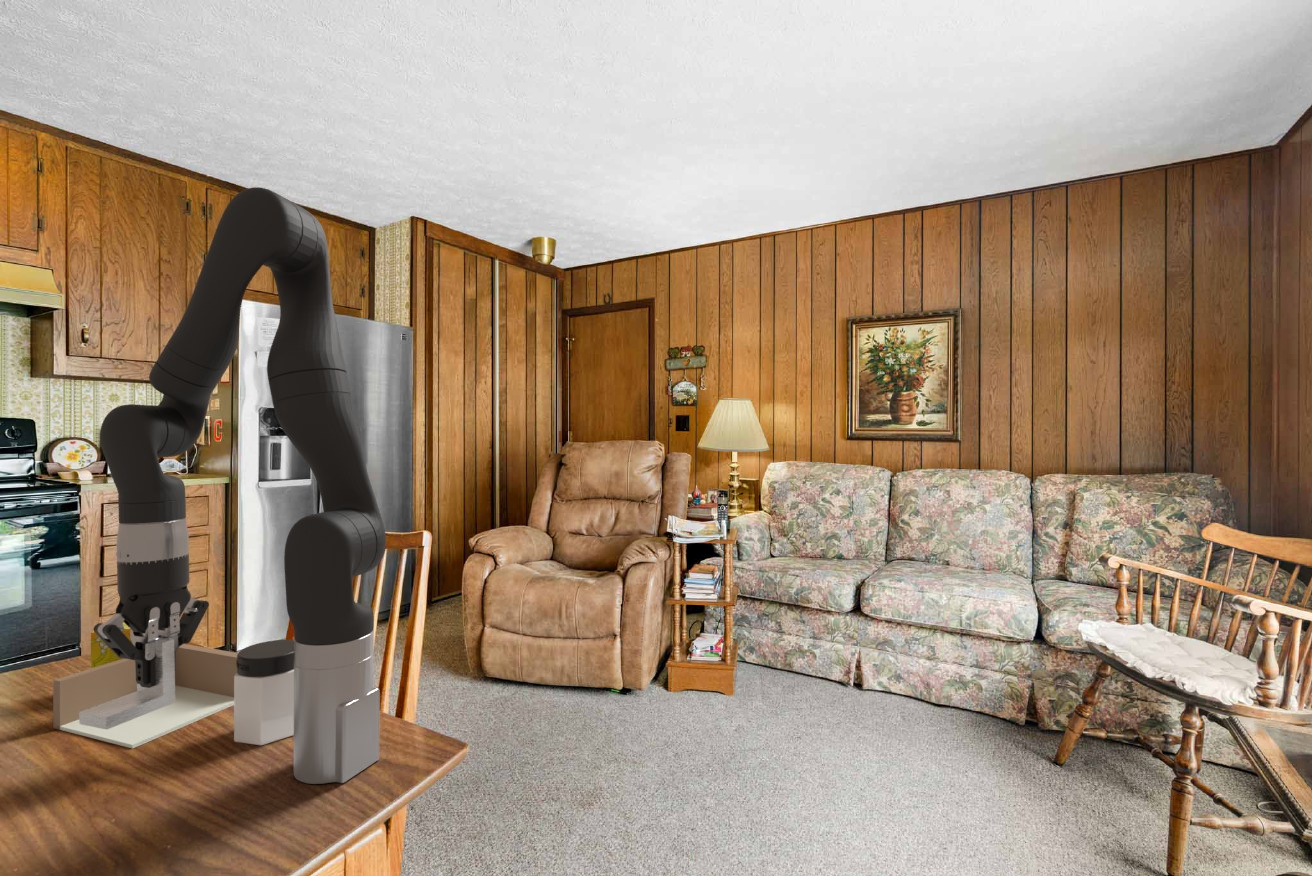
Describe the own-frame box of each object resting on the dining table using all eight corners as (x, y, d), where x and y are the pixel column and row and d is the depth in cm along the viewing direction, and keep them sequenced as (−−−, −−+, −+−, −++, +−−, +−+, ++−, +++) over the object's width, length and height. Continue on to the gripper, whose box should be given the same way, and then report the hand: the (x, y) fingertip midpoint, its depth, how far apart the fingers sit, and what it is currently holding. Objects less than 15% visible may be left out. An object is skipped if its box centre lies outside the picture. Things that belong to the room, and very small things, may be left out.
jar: (248, 720, 93) (248, 641, 93) (309, 714, 95) (309, 636, 95) (226, 750, 84) (226, 662, 84) (293, 742, 87) (294, 656, 87)
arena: (249, 698, 101) (250, 655, 101) (132, 748, 85) (132, 697, 85) (176, 683, 106) (176, 642, 106) (53, 728, 90) (53, 680, 90)
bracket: (149, 697, 85) (148, 635, 85) (175, 702, 83) (174, 639, 83) (79, 724, 77) (78, 655, 77) (106, 729, 76) (105, 660, 76)
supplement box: (103, 686, 105) (103, 621, 105) (148, 680, 107) (148, 617, 107) (89, 700, 99) (89, 632, 99) (136, 693, 102) (136, 627, 102)
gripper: (114, 566, 76) (117, 708, 76) (223, 546, 88) (226, 668, 89) (74, 563, 78) (77, 701, 78) (186, 544, 91) (188, 662, 91)
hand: (156, 682), depth 83 cm, fingers closed on bracket, 1 cm apart
